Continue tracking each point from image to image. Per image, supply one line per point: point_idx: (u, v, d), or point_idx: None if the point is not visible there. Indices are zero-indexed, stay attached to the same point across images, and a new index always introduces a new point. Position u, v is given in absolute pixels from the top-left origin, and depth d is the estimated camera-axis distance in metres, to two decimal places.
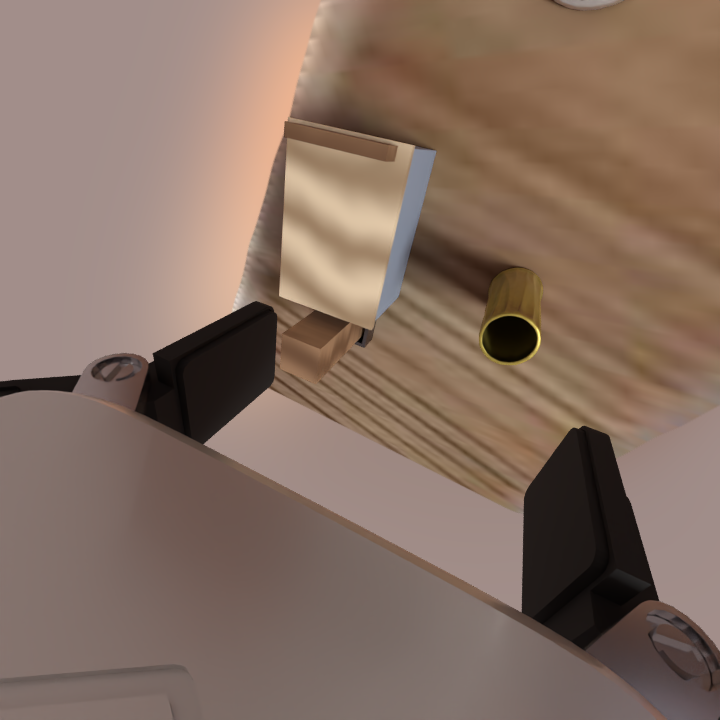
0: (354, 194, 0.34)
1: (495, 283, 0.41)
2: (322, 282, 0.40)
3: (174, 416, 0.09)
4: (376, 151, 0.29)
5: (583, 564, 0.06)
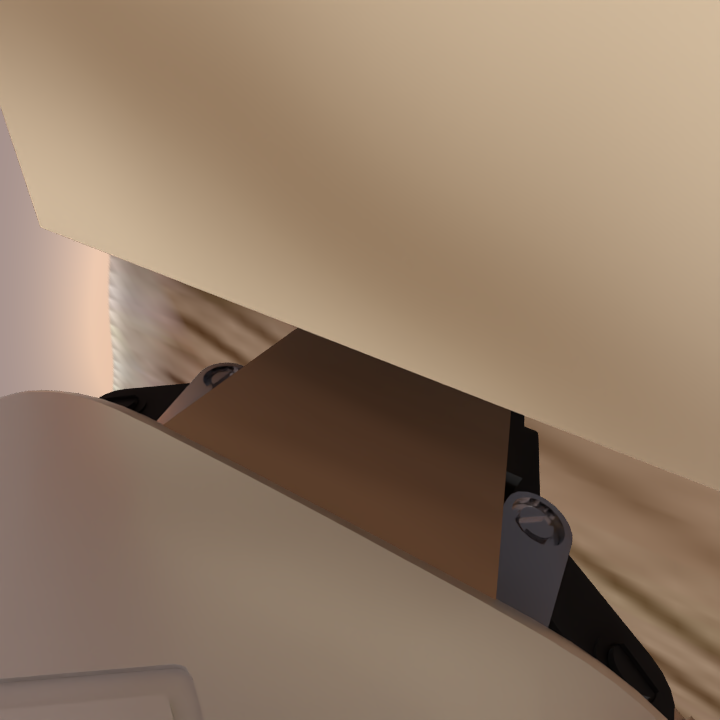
0: None
1: None
2: None
3: None
4: None
5: None
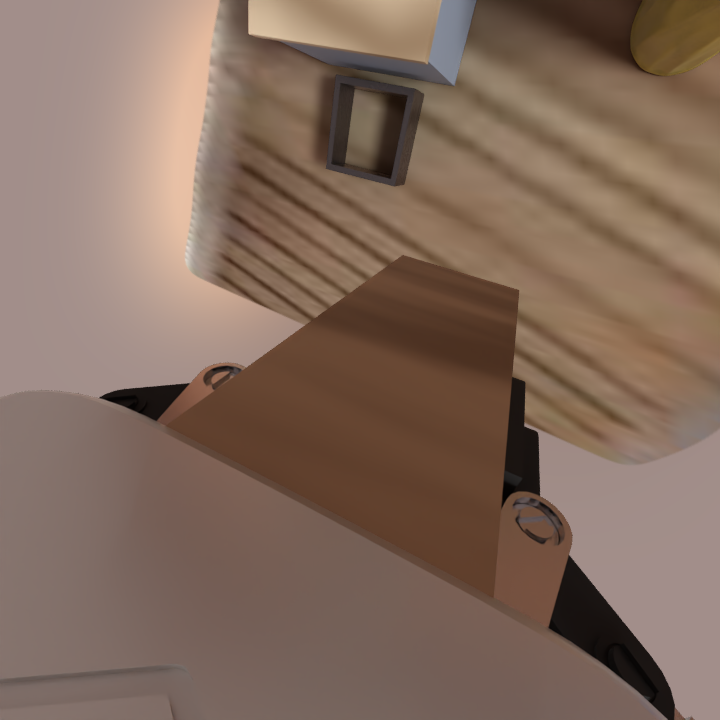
0: None
1: None
2: None
3: None
4: None
5: None
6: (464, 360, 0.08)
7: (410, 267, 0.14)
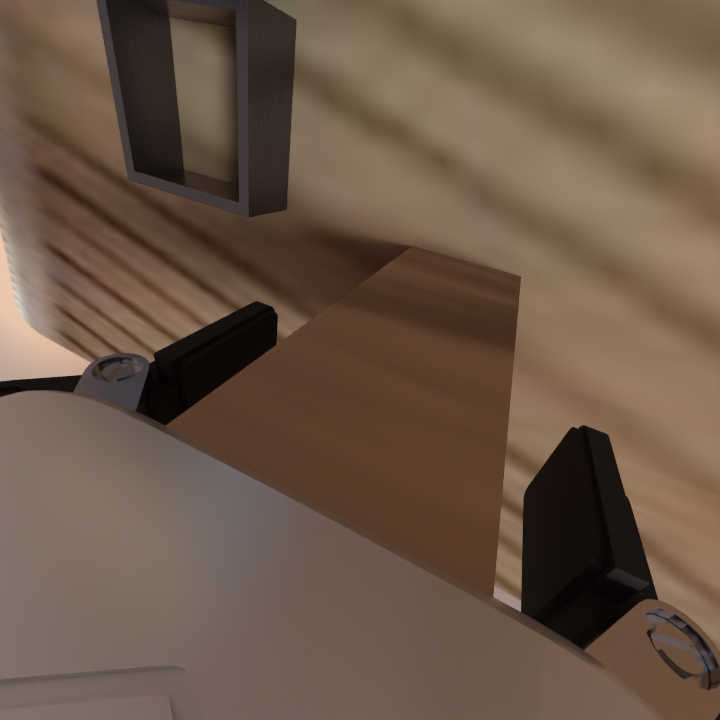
0: None
1: None
2: None
3: (175, 416, 0.09)
4: None
5: (582, 563, 0.06)
6: (472, 334, 0.10)
7: (420, 256, 0.15)
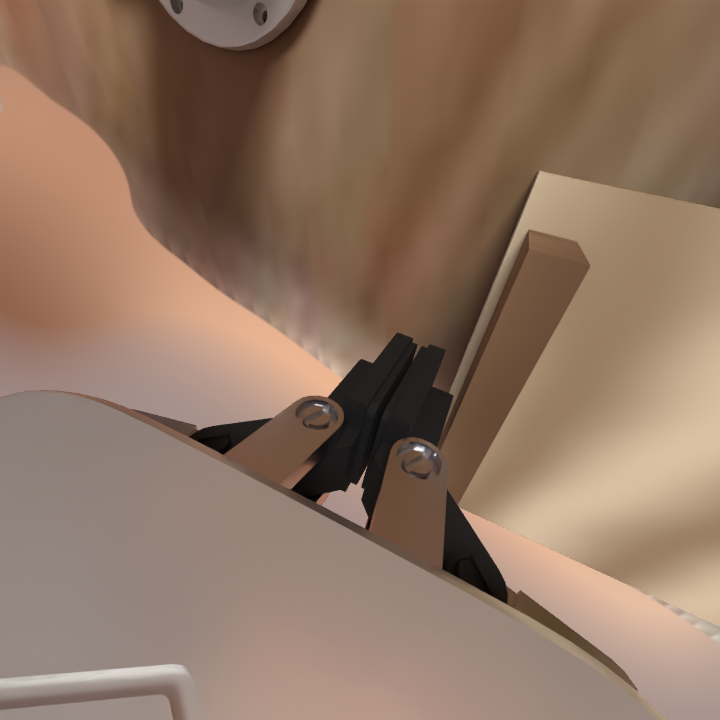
0: (647, 392, 0.10)
1: None
2: None
3: (353, 457, 0.09)
4: (539, 300, 0.08)
5: None
6: None
7: None
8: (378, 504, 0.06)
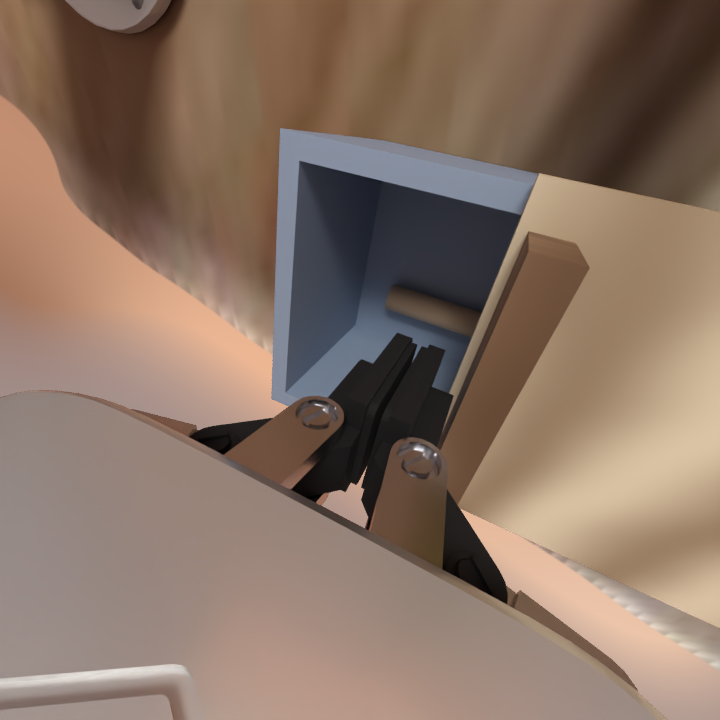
0: (646, 392, 0.10)
1: None
2: None
3: (352, 457, 0.09)
4: (538, 301, 0.08)
5: None
6: None
7: None
8: (378, 504, 0.06)
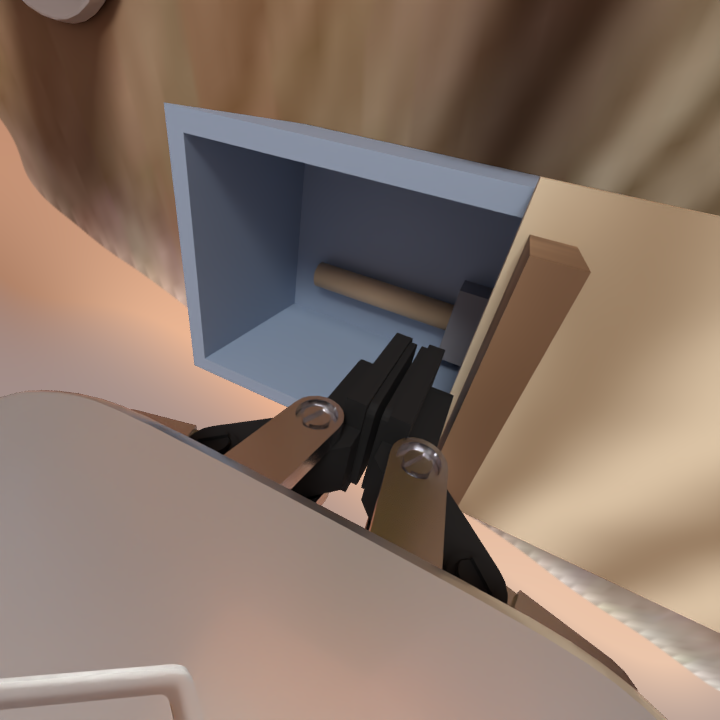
0: (646, 396, 0.10)
1: None
2: None
3: (353, 457, 0.09)
4: (539, 305, 0.08)
5: None
6: None
7: None
8: (378, 504, 0.06)
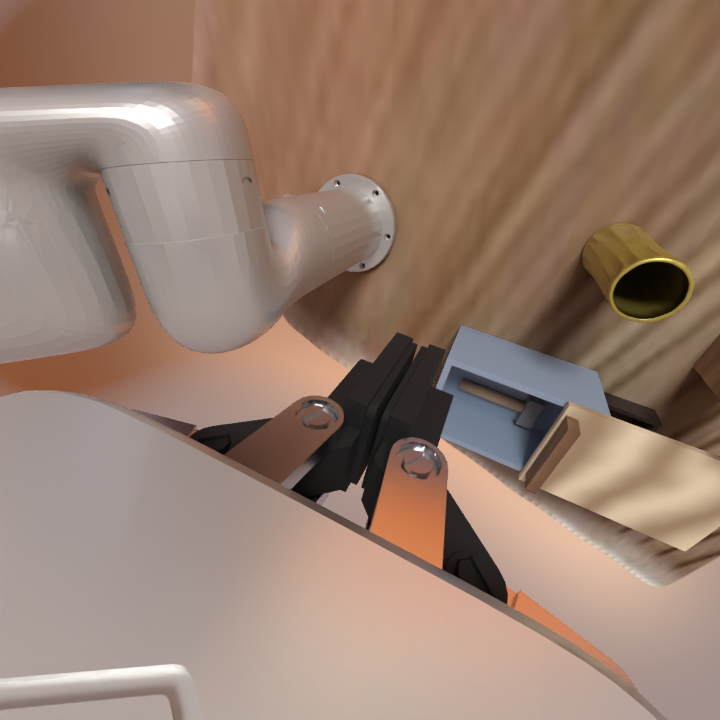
0: (596, 454, 0.38)
1: None
2: (683, 507, 0.37)
3: (352, 456, 0.09)
4: (570, 438, 0.36)
5: None
6: None
7: (701, 366, 0.39)
8: (378, 504, 0.06)
